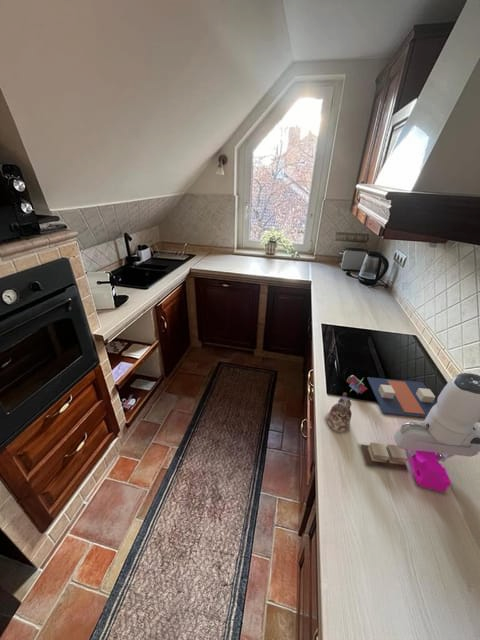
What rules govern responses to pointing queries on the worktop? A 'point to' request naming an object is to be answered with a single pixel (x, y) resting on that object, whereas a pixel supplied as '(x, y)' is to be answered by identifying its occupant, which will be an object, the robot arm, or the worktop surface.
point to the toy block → (429, 471)
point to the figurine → (340, 414)
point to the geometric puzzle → (356, 384)
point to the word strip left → (384, 456)
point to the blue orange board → (402, 397)
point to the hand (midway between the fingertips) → (425, 457)
